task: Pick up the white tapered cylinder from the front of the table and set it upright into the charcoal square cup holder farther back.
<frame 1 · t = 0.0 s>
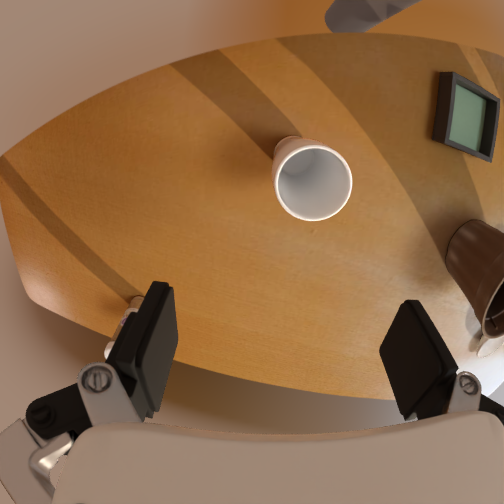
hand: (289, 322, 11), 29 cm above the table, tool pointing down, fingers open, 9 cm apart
cup holder: (462, 116, 30), on the table
plant pot: (468, 247, 41), on the table
sprinkles bottle: (142, 304, 49), on the table
white tapered cylinder: (293, 154, 36), on the table
spoon rest: (498, 317, 51), on the table
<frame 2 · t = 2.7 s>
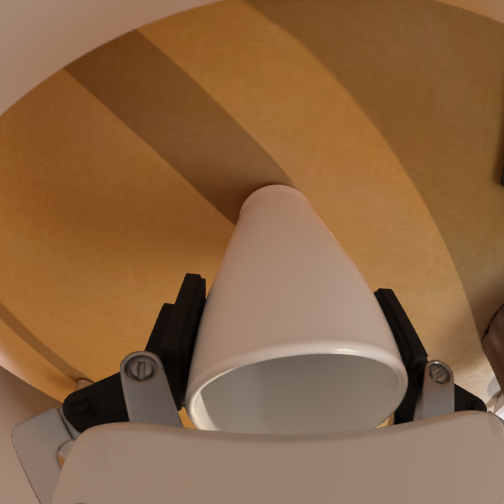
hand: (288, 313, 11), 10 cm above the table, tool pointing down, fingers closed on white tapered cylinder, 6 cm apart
white tapered cylinder: (276, 217, 20), on the table, touching gripper
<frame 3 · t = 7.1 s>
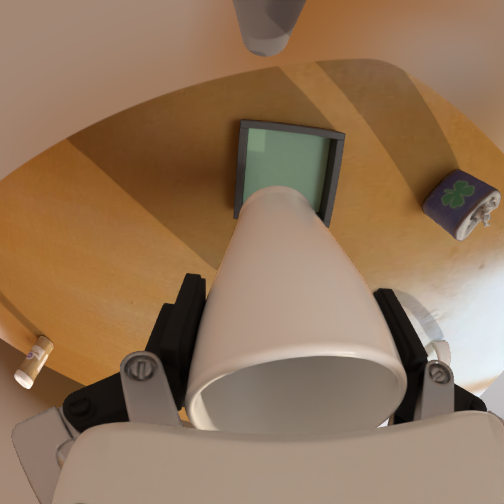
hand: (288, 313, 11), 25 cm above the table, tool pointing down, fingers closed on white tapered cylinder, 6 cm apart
cup holder: (285, 169, 33), on the table
flask: (442, 189, 33), on the table
sprinkles bottle: (47, 341, 51), on the table
white tapered cylinder: (276, 218, 20), point 14 cm above the table, touching gripper
spoon rest: (411, 375, 53), on the table
when the fingers open (11 cm above the table, at t = 11.5 s): white tapered cylinder stays where it is, resting on cup holder.
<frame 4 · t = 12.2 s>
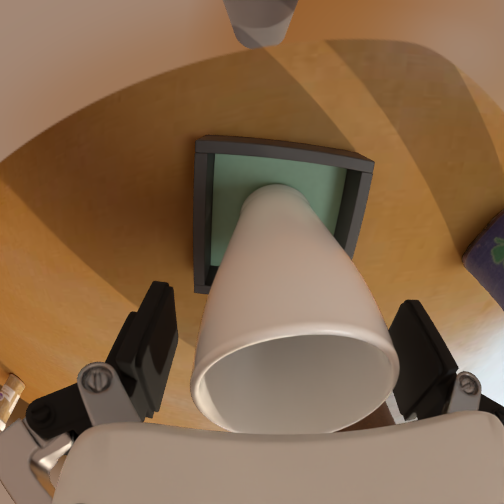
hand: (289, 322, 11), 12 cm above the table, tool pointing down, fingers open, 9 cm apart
cup holder: (275, 213, 21), on the table
flask: (488, 234, 22), on the table
plant pot: (328, 386, 32), on the table
sprinkles bottle: (18, 379, 40), on the table
white tapered cylinder: (275, 215, 21), point 1 cm above the table, touching cup holder
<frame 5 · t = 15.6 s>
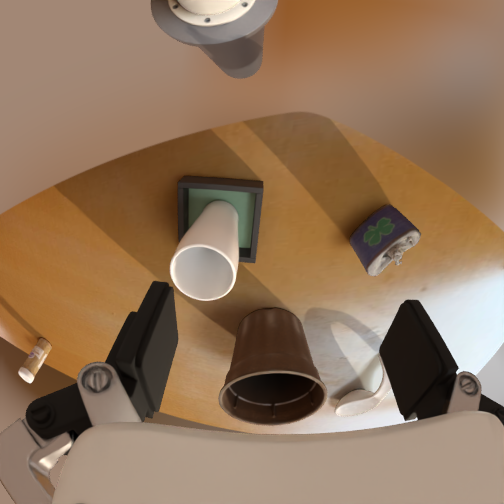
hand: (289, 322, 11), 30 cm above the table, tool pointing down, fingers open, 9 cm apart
cup holder: (221, 214, 41), on the table
flask: (371, 224, 41), on the table
plant pot: (270, 329, 52), on the table
sprinkles bottle: (46, 342, 59), on the table
white tapered cylinder: (220, 216, 41), point 1 cm above the table, touching cup holder
spoon rest: (364, 382, 61), on the table
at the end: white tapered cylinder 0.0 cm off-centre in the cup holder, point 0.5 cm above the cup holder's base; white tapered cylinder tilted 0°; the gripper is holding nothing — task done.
